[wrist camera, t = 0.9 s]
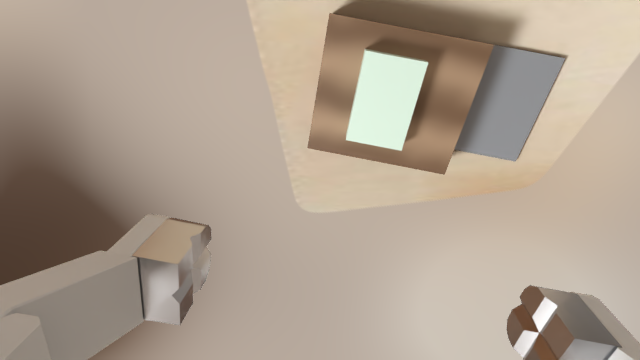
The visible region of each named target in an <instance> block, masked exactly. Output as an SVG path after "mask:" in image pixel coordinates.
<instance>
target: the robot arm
mask: <svg viewBox="0 0 640 360" xmlns="http://www.w3.org/2000/svg"><path fill="white" fill-rule="evenodd" d="M210 240H211V227H210V226H209V225H206V224H201V223H196V222H191V221H187V220H182V219H177V218H172V217H171V218H170V217H167V216H162V215H156V214H149V215H146V216H145V217H144V218H143V219H142V220H141V221H140V222H139V223H138V224H136V225H135V226H134V227H133V228H132V229H131V230H130V231H129V232H128V233H127V234H126V235H124V236H123V237H122V238H121V239H120V240H119V241H118V242H117V243H116V244H115V245H113V247H111V248H110V249H109V250H108V251H107V252H105V251H98V252H95V253H92V254H89V255H87V256H83V257H81V258H78V259H75V260H72V261H69V262H66V263H64V264H61V265H58V266H55V267H52V268H49V269H46V270H43V271H41V272H38V273H35V274H32V275H29V276H26V277H24V278H21V279H18V280H15V281H12V282H9V283H7V284H4V285H1V286H0V360H87V359H89V358H90V357H92V356H93V355H95V354H96V353H98V352H99V351H101V350H102V349H104V348H105V347H107V346H108V345H110V344H111V343H113V342H114V341H115V340H117V339H118V338H120V337H121V336H123V335H124V334H126V333H127V332H129V331H130V330H132V329H133V328H135V327H136V326H138V325H139V324H141V323H142V322H143V319H144V320H151V321H157V322H163V323H169V324H175V325H181V323H182V321H183V319H184V318H185V316H186V314H187V312H188V311H189V309H190V307H191V306H192V304H193V293H195V292H197V291H199V290H201V288H202V286H203V284H204V283H205V281H206V278H207V275H208V272H209V268H210V262H211V252H210V251H209V250H208V248H207V245H208V243H209V242H210ZM520 299H521V302H522V304H521V305H519V306H517V307H516V308H514V309H512V311H511V313H510V315H509V317H508V319H507V334H508V338H509V341H510V343H511V345H512V347H513V348H514V349H515V350H516V351H517V352H518V353H519V354H520V355H521V356H522V357H523V360H640V343H639V342H638V341H637V340H636V339H635V338H634V337H633V336H632V334H631V333H630V332H629V331H628V330H627V329H626V328H625V327H624V326H623V325H622V324H621V322H620V321H619V320H618V319H617V318H616V317H615V316H614V315H613V314H612V313H611V312H610V310H609V309H608V308H607V307H606V306H605V305H604V304H603V303H602V302H601V301H600V300H599V299H598V298H596V297H594V296H592V295H587V294H581V293H575V292H564V291H559V290H553V289H548V288H542V287H537V286H531V285H530V286H528V287H527V288H525V289H524V291H523V292H522V294H521V295H520Z"/></svg>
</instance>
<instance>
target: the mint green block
mask: <svg viewBox="0 0 640 360" xmlns="http://www.w3.org/2000/svg"><path fill="white" fill-rule="evenodd" d="M427 66H428V62H427V61H425V60H421V59H416V58H411V57H405V56H400V55H395V54H390V53H385V52H379V51H374V50H369V49H365V50H364V54H363V59H362V64H361V68H360V73H359V77H358V82H357V87H356V91H355V96H354V100H353V105H352V110H351V114H350V119H349V124H348V128H347V133H346V140H348V141H353V142H358V143H363V144H369V145H374V146H379V147H384V148H389V149H394V150H400V151H402V148H403V144H404V141H405V138H406V135H407V131H408V128H409V125H410V121H411V118H412V115H413V112H414V108H415V105H416V102H417V98H418V95H419V92H420V89H421V85H422V82H423V79H424V76H425V72H426V69H427Z"/></svg>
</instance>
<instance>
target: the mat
mask: <svg viewBox="0 0 640 360" xmlns="http://www.w3.org/2000/svg"><path fill="white" fill-rule="evenodd" d="M564 60H565V58H561V57H556V56H550V55H545V54H540V53H535V52H530V51H524V50H519V49H514V48H509V47H503V46H498V45H494V47H493V49H492V52H491V55H490V57H489V60H488V62H487V65H486V68H485V70H484V73H483V75H482V78H481V81H480V83H479V86H478V89H477V91H476V94H475V96H474V99H473V102H472V104H471V107H470V109H469V112H468V115H467V117H466V120H465V122H464V125H463V128H462V130H461V133H460V136H459V138H458V141H457V143H456V146H455V149H454V150H459V151H464V152H469V153H474V154H480V155H485V156H490V157H495V158H500V159H506V160H511V161H516V160H517V158H518V155H519V153H520V151H521V149H522V147H523V145H524V143H525V141H526V139H527V137H528V135H529V133H530V131H531V129H532V127H533V124H534V122H535V120H536V118H537V116H538V114H539V112H540V110H541V108H542V106H543V104H544V102H545V100H546V98H547V95H548V93H549V91H550V89H551V87H552V85H553V83H554V81H555V79H556V77H557V75H558V73H559V71H560V69H561V66H562V64H563V62H564Z"/></svg>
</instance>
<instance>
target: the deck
mask: <svg viewBox="0 0 640 360" xmlns="http://www.w3.org/2000/svg"><path fill="white" fill-rule="evenodd" d="M493 47H494V45H493V44H488V43H483V42H478V41H472V40H467V39H462V38H457V37H451V36H446V35H441V34H436V33H431V32H425V31H420V30H415V29H410V28H404V27H399V26H394V25H389V24H383V23H378V22H373V21H368V20H363V19H357V18H352V17H347V16H342V15H336V14H331V13H330V14H329V20H328V26H327V32H326V39H325V45H324V51H323V57H322V63H321V69H320V75H319V81H318V87H317V93H316V100H315V106H314V112H313V118H312V124H311V130H310V136H309V142H308V148H310V149H315V150H321V151H326V152H331V153H336V154H341V155H346V156H352V157H357V158H362V159H367V160H372V161H377V162H383V163H388V164H393V165H398V166H403V167H408V168H414V169H419V170H424V171H429V172H434V173H439V174H445V172H446V170H447V167H448V164H449V162H450V159H451V156H452V154H453V151H454V149H455V146H456V143H457V141H458V138H459V136H460V133H461V130H462V128H463V125H464V122H465V120H466V117H467V115H468V112H469V109H470V107H471V104H472V102H473V99H474V96H475V94H476V91H477V89H478V86H479V83H480V81H481V78H482V75H483V73H484V70H485V68H486V65H487V62H488V60H489V57H490V55H491V52H492V49H493ZM365 49H369V50H374V51H379V52H385V53H390V54H395V55H400V56H405V57H411V58H416V59H421V60H425V61H427V62H428V66H427V69H426V72H425V76H424V79H423V82H422V85H421V89H420V92H419V95H418V98H417V102H416V105H415V108H414V112H413V115H412V118H411V121H410V125H409V128H408V131H407V135H406V138H405V141H404V144H403V148H402V151H400V150H394V149H389V148H384V147H379V146H374V145H369V144H363V143H358V142H353V141H348V140H346V133H347V128H348V124H349V119H350V114H351V110H352V105H353V100H354V96H355V91H356V87H357V82H358V77H359V73H360V68H361V64H362V59H363V54H364V50H365Z"/></svg>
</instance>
